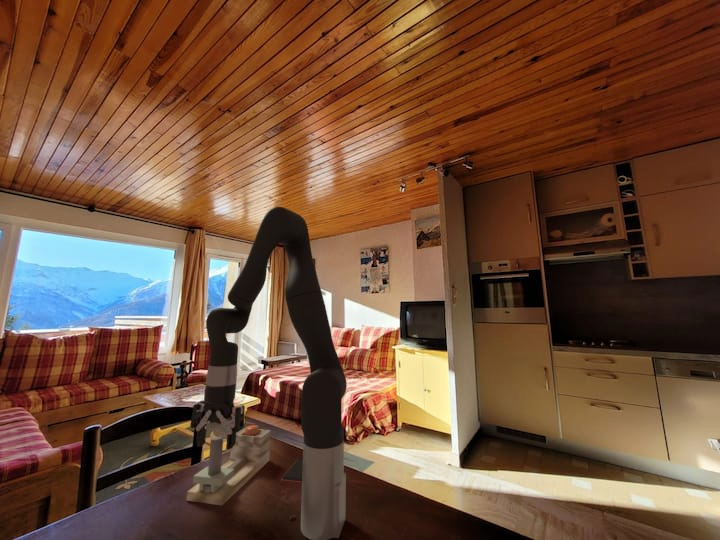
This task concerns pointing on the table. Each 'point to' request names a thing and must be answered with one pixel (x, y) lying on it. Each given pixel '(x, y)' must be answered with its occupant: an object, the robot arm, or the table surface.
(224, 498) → the rail base
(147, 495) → the table surface
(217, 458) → the carriage
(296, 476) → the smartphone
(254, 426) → the button
